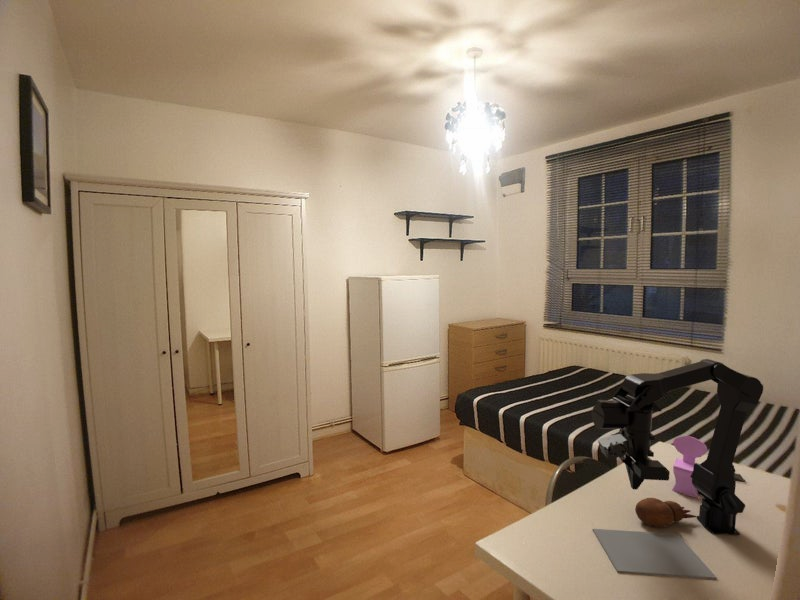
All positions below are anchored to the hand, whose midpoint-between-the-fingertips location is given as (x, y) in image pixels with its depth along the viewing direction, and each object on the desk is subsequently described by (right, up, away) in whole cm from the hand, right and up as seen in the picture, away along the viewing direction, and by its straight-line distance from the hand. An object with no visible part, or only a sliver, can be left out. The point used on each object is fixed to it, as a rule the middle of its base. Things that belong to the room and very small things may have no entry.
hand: (634, 488), depth 101 cm
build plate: (+44, -9, +28) cm, 53 cm away
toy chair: (+27, -9, +20) cm, 34 cm away
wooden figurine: (+3, -7, +2) cm, 8 cm away
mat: (-1, -11, -8) cm, 14 cm away
